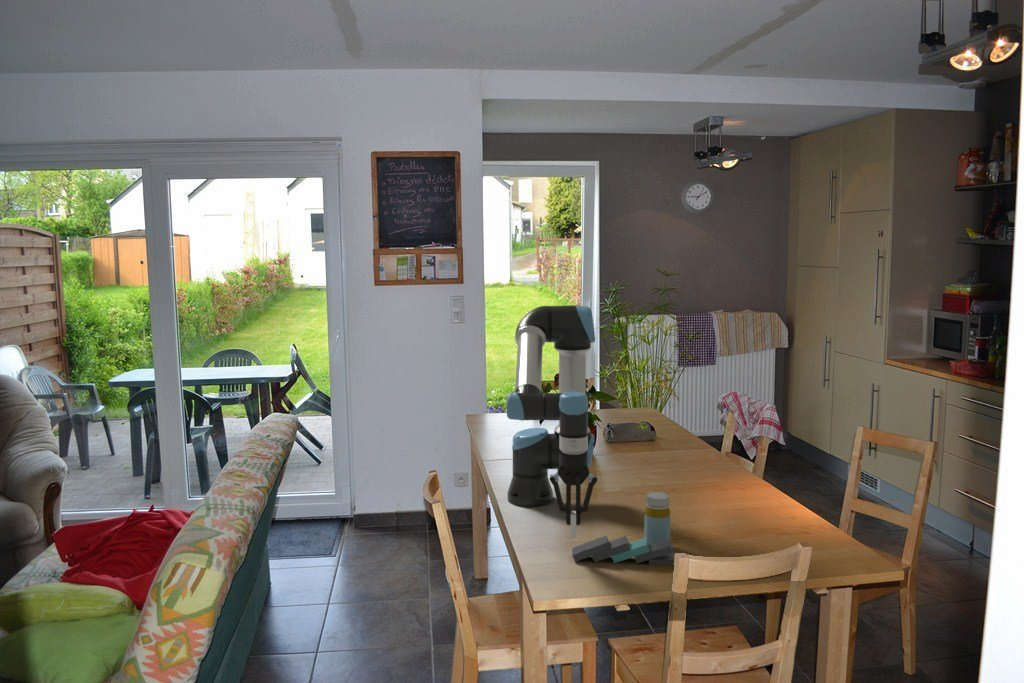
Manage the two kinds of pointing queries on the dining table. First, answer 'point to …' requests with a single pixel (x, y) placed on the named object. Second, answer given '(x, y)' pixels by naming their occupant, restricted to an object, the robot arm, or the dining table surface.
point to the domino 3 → (633, 550)
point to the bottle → (657, 517)
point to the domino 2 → (613, 549)
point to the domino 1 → (590, 548)
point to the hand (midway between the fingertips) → (573, 535)
